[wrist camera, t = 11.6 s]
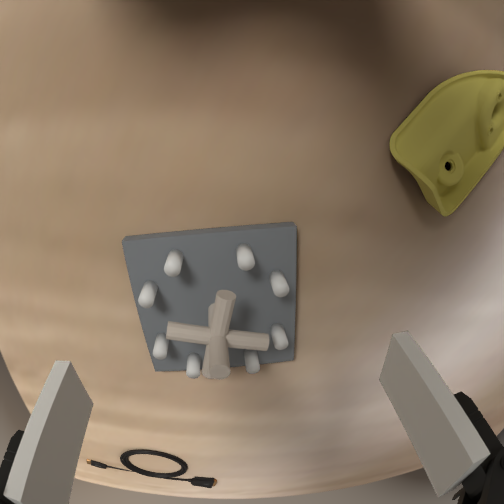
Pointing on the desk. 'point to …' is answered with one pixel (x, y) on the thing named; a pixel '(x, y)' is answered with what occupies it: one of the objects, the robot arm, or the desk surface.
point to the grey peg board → (215, 289)
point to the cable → (194, 481)
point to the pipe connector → (218, 336)
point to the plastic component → (453, 137)
